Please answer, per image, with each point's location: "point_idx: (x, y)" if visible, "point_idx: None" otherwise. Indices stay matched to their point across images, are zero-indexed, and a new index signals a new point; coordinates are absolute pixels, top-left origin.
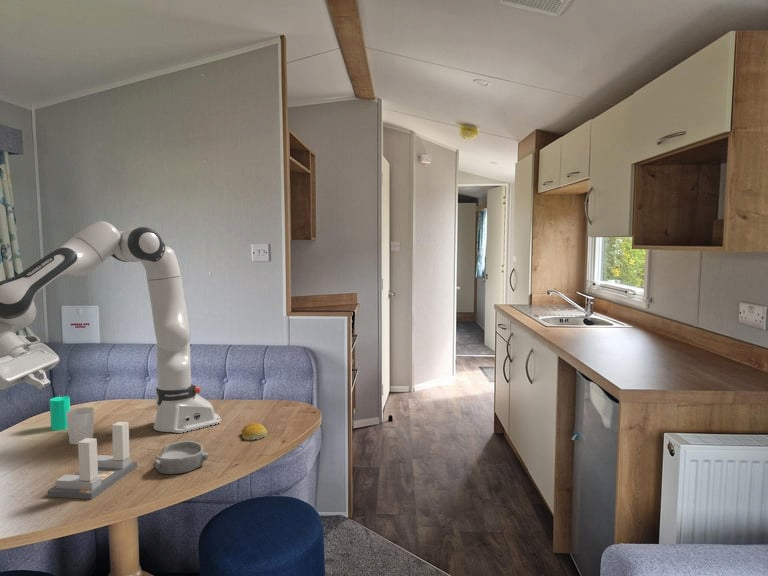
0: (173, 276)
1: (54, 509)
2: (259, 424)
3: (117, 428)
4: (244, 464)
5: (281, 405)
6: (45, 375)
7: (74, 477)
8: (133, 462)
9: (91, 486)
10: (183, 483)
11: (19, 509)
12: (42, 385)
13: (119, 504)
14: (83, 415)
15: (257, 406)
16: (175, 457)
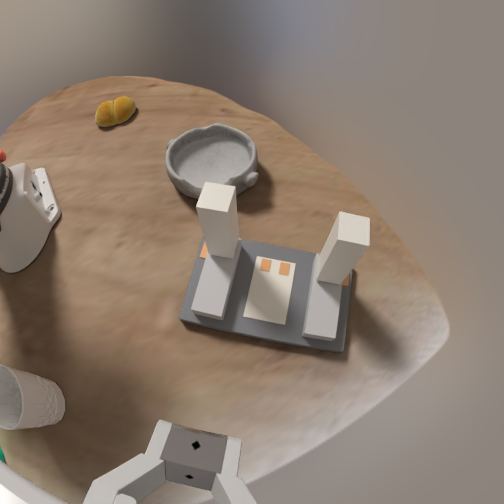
0: None
1: (385, 311)
2: (106, 101)
3: (232, 203)
4: (225, 103)
5: (21, 124)
6: (127, 466)
7: (321, 305)
8: None
9: None
10: (287, 153)
11: (387, 373)
12: (240, 443)
13: None
14: (22, 384)
15: (8, 148)
16: (198, 173)
